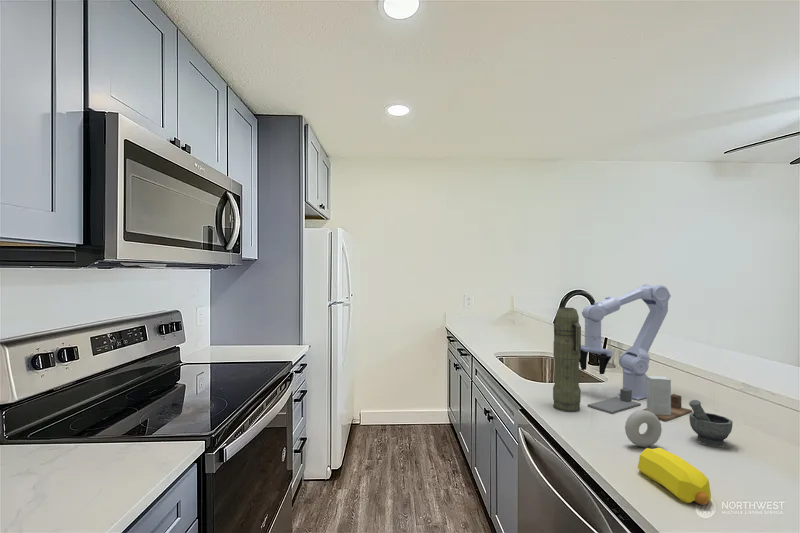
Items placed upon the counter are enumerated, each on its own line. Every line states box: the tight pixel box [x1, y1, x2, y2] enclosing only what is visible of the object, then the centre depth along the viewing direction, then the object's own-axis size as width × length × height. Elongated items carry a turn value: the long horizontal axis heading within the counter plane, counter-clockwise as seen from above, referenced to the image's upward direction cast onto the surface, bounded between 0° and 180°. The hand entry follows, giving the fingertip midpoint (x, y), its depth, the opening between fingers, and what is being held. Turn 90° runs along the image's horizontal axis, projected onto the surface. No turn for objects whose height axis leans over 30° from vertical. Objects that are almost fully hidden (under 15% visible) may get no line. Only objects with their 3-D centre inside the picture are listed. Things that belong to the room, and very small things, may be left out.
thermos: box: [552, 307, 582, 413], centre depth 146 cm, size 9×12×35 cm
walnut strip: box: [642, 393, 693, 422], centre depth 142 cm, size 18×9×5 cm, turn 122°
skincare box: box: [646, 375, 672, 416], centre depth 139 cm, size 6×4×12 cm
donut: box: [624, 409, 663, 448], centre depth 114 cm, size 10×4×10 cm, turn 96°
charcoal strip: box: [587, 388, 642, 415], centre depth 149 cm, size 18×9×5 cm, turn 122°
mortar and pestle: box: [688, 399, 733, 448], centre depth 117 cm, size 11×9×12 cm
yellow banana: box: [637, 447, 712, 505], centre depth 93 cm, size 18×7×8 cm
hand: (592, 371), depth 160 cm, fingers open, 7 cm apart
